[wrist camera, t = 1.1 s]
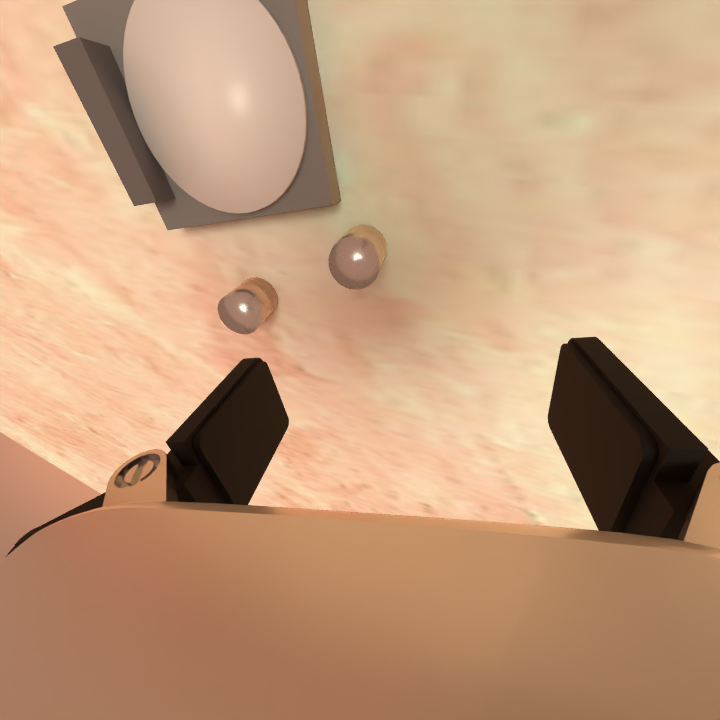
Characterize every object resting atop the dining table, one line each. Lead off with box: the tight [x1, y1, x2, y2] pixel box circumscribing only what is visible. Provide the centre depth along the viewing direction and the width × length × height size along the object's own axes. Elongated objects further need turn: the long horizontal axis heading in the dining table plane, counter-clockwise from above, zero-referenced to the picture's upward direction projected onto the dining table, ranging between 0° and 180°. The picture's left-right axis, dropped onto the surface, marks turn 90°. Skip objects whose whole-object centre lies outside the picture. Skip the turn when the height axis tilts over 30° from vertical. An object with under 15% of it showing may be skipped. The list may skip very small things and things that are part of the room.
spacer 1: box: [218, 278, 278, 334], centre depth 33 cm, size 4×4×5 cm
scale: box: [54, 0, 341, 230], centre depth 24 cm, size 15×17×5 cm
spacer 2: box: [329, 225, 386, 289], centre depth 28 cm, size 4×4×5 cm
